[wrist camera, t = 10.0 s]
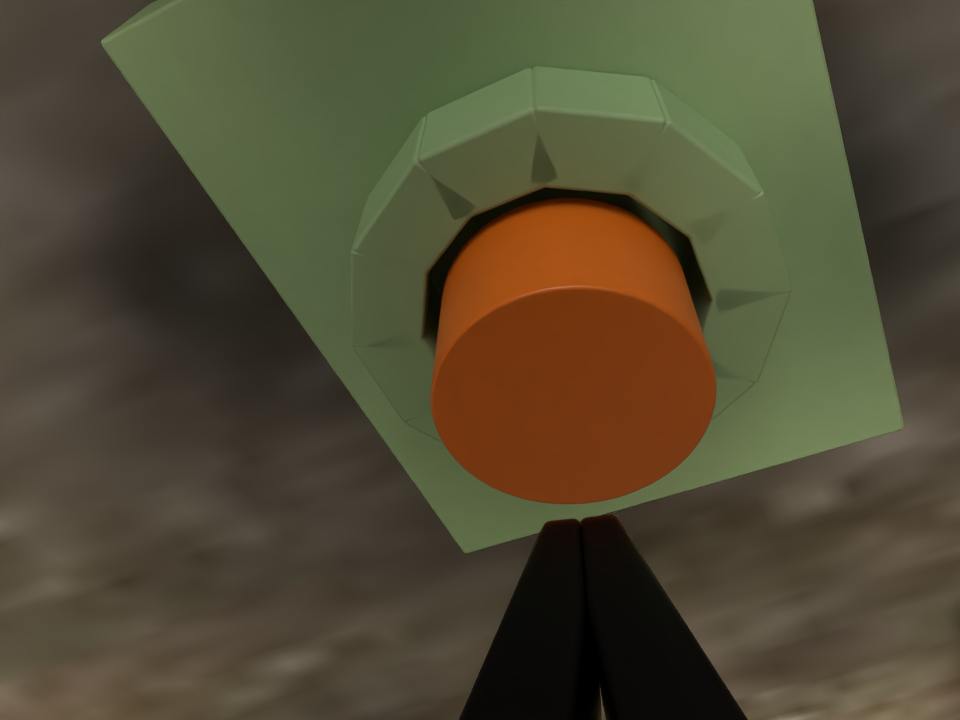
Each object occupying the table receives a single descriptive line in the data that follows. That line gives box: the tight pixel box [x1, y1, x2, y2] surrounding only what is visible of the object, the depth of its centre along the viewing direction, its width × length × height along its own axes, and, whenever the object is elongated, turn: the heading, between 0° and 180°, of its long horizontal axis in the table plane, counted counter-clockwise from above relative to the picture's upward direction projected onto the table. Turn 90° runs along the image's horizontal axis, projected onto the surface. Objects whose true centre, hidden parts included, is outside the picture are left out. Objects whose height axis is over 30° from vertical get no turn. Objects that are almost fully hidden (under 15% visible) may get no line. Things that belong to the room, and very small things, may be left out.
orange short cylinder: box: [431, 198, 717, 504], centre depth 13 cm, size 4×4×2 cm
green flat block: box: [101, 0, 904, 553], centre depth 15 cm, size 13×10×4 cm
